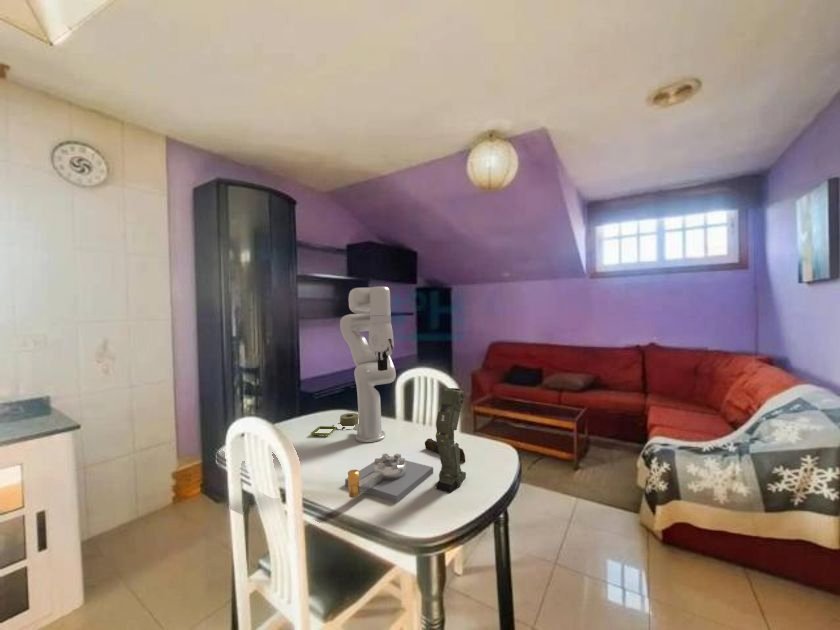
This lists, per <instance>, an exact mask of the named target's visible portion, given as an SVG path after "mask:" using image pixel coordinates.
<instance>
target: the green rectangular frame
mask: <svg viewBox="0 0 840 630" xmlns="http://www.w3.org/2000/svg"><path fill="white" fill-rule="evenodd" d="M336 428H337V427H333V426H325V425H323V426H322V425H321V426H318V427H316V428H315V429H313V430H312V431H310V434H311V435H312V436H313V435H327V436H326V437H329V436H331V434H333V433H334V432H335V431H336V430H337V429H336ZM319 429H333V430H332V431H331V432H330V433H315V432H317V431H318V430H319ZM334 430H335V431H334ZM333 431H334V432H333ZM328 435H329V436H328Z"/></svg>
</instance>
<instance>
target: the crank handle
mask: <svg viewBox="0 0 840 630" xmlns="http://www.w3.org/2000/svg"><path fill="white" fill-rule="evenodd" d="M389 456H390V455H389V454H388V453H384V454H382V458H381V457H380V458H381V459H380V458H379V457H378V458H375V459H374V461H373V462H374V472H373V473H371V474H370V475H368V476H367V477H365V478H363V479H362V480H360V481H359V471H360V470H357V469H350V470H349V471H348V472H347V478H348V485H349V487H348V497H349V498H351V499H353V498H354V499H355V498H357V497H359V496H362V494H364V493H366V492H365V491H367V490H368V489H370V488H371V487H373V486H374V485H376V484H377V483H379V482H380V481H382V480H395V479H398V478H401V477H402V476H404V475H405V473H406V462H405V460H406V458H405V457H404V458H402V455H401V453H396V454H394V455H393V456H391V457H389Z"/></svg>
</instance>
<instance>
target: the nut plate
mask: <svg viewBox="0 0 840 630" xmlns="http://www.w3.org/2000/svg"><path fill="white" fill-rule="evenodd" d="M389 457H392V456H390V455H389ZM381 458H382V457H380V459H381ZM405 462H406V473H405V475H404V476H402V477H401V478H398V479H395V480H382V481H380V482H379V483H377V484H376V485H374V486H373V487H371V488H370V489H368V490H367V491H365V492H364V493H366V494H368V495H372V496H375V497H377V498H381V499H384V500H385V501H386V500H387V501H390V502H392V503H395V504H398V503H399V502H401V501H402V500H403V499H404V498H406V496H408V495H409V494H410V493H411V492H412V491H414V490H416V488H417V487H419V485H421V484H422V483H424V482H425V480H427V479H428V478H429V477H431V476H432V475H433V474H434V467H433V466H430V465H426V464H422V463H418V462H414V461H410V460H407V459H405ZM358 471H359V481H360V480H362V479H363V478H365V477H367V476H368V475H370V474H371V473H373V472H374V461H373V462H371V463H370V464H368V465H366V466H365V467H363V468H362V469H360V470H358ZM344 483H345V485H344V486H345V487H348V488H349V485H348V477H346V478H345V480H344Z"/></svg>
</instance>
